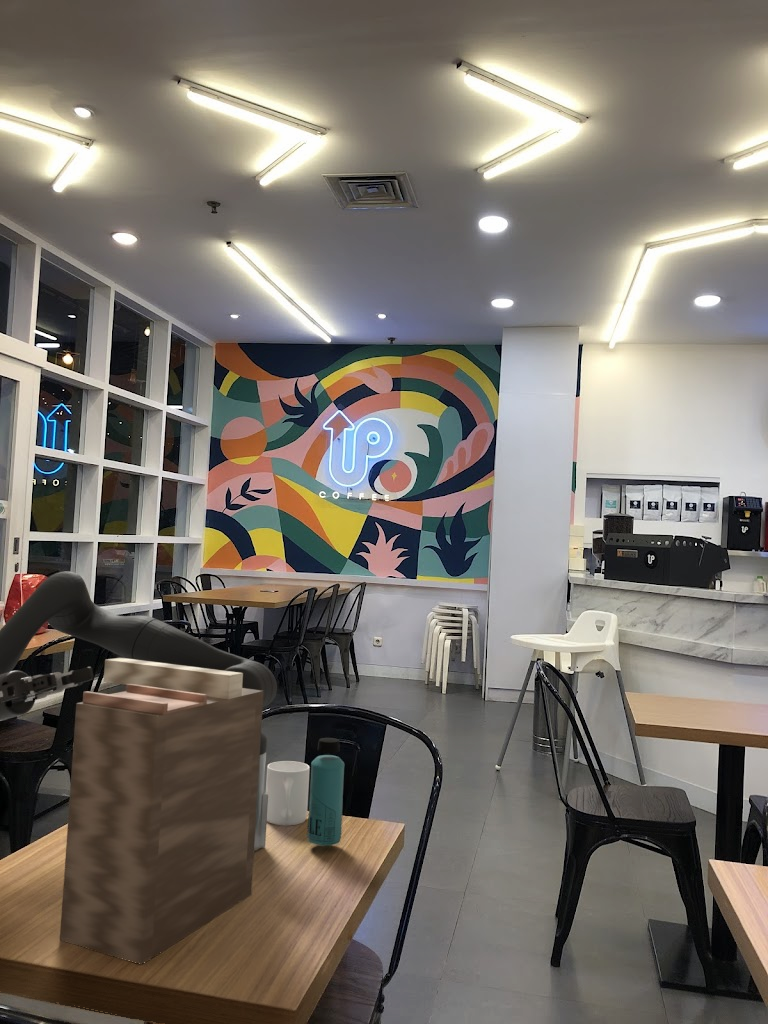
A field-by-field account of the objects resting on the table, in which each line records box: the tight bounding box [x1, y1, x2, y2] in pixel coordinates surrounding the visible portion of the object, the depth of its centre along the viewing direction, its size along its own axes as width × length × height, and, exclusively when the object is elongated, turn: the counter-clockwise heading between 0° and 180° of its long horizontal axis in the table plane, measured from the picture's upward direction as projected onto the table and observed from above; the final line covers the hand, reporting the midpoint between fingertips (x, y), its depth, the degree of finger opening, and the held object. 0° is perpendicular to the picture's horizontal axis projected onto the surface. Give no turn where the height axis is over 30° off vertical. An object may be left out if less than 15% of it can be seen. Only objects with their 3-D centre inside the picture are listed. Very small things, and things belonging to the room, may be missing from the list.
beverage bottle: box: [306, 737, 345, 846], centre depth 155 cm, size 6×7×20 cm
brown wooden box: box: [59, 684, 263, 964], centre depth 124 cm, size 14×26×33 cm, turn 156°
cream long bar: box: [103, 657, 243, 699], centre depth 131 cm, size 24×4×4 cm, turn 66°
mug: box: [265, 760, 311, 827], centre depth 168 cm, size 9×12×11 cm
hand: (73, 676), depth 136 cm, fingers open, 8 cm apart
